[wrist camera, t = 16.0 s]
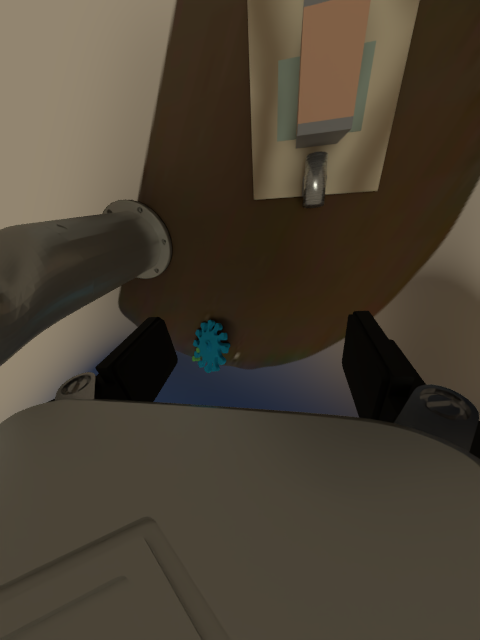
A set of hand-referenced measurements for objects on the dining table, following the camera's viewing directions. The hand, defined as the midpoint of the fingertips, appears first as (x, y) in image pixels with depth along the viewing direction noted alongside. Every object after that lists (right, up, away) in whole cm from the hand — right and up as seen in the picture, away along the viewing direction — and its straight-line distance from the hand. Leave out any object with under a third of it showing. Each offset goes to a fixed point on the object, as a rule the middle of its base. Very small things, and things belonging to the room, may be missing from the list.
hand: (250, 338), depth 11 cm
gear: (-6, -2, +34) cm, 34 cm away
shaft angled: (+8, +18, +15) cm, 25 cm away
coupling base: (+8, +25, +13) cm, 30 cm away
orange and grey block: (+8, +24, +12) cm, 28 cm away
